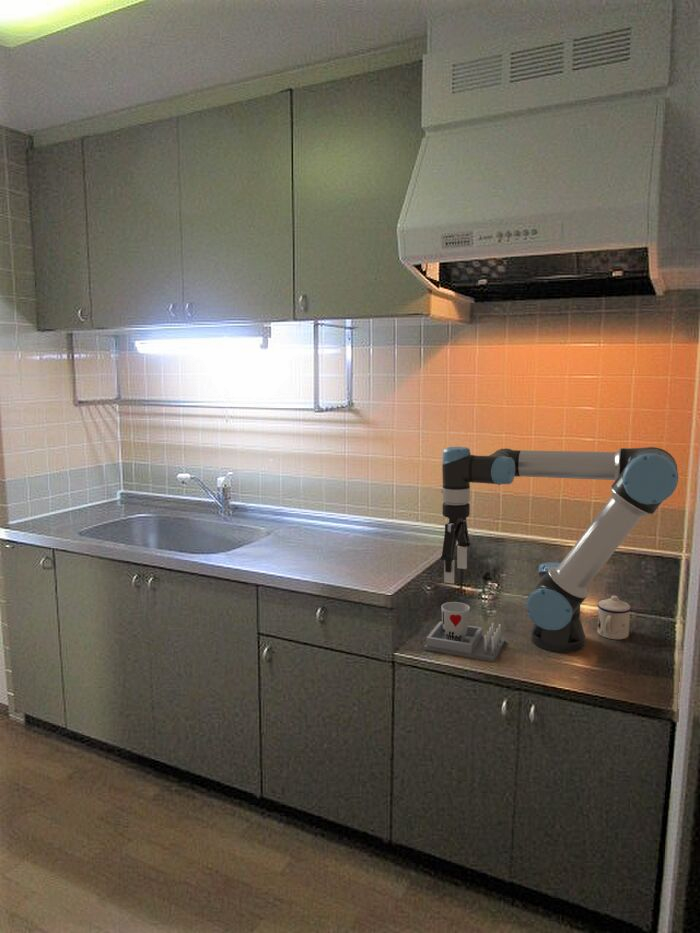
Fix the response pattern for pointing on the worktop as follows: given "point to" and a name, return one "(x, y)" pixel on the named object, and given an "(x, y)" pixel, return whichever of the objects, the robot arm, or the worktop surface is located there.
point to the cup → (455, 620)
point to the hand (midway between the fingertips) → (455, 575)
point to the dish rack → (467, 643)
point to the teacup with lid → (613, 618)
